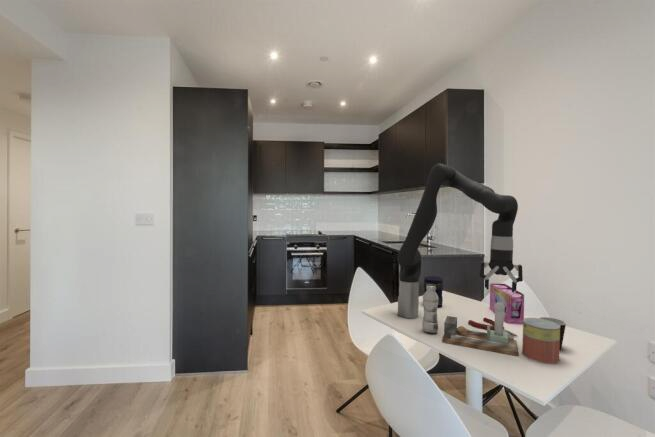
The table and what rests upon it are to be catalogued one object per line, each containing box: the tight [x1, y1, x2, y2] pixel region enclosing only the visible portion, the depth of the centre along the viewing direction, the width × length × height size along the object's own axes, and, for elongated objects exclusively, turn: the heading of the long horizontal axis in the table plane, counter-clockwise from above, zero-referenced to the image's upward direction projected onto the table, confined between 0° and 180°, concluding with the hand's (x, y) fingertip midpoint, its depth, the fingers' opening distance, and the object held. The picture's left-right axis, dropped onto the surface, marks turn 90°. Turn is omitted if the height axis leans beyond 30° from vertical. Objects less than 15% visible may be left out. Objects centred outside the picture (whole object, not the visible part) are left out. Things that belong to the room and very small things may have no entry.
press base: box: [441, 315, 519, 357], centre depth 128 cm, size 26×12×8 cm, turn 63°
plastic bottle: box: [421, 284, 439, 334], centre depth 139 cm, size 6×7×20 cm
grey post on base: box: [486, 302, 508, 344], centre depth 125 cm, size 7×7×15 cm
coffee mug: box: [539, 316, 567, 351], centre depth 127 cm, size 12×9×10 cm
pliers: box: [467, 317, 519, 337], centre depth 142 cm, size 12×20×3 cm, turn 22°
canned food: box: [521, 317, 561, 365], centre depth 117 cm, size 11×11×12 cm
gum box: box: [489, 282, 525, 325], centre depth 161 cm, size 24×8×14 cm, turn 172°
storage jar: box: [423, 275, 444, 309], centre depth 177 cm, size 10×10×15 cm
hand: (500, 290), depth 124 cm, fingers open, 8 cm apart
